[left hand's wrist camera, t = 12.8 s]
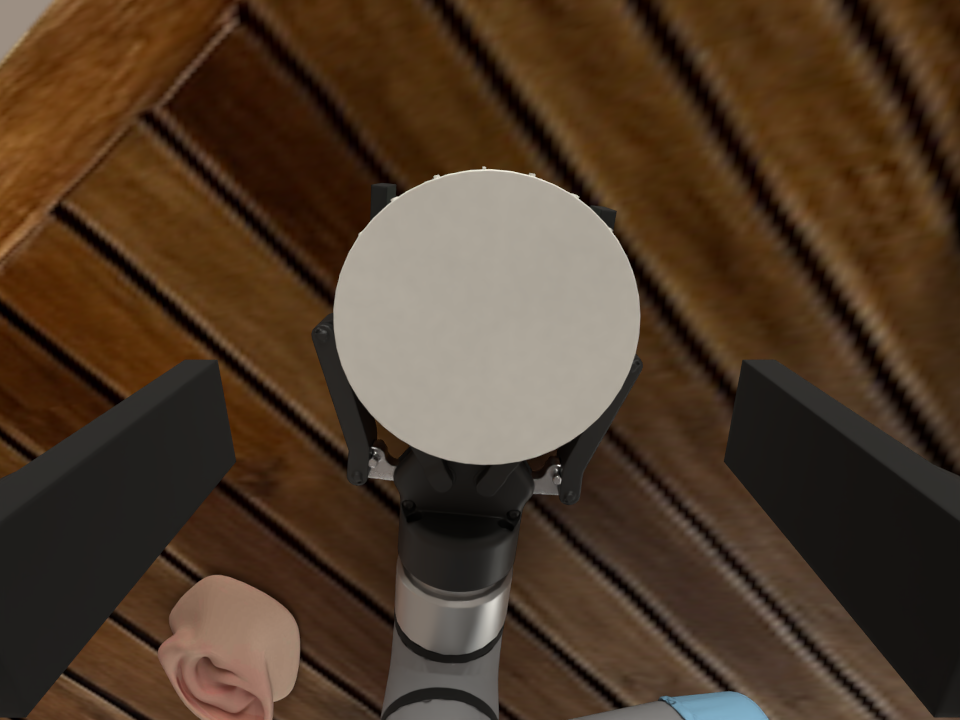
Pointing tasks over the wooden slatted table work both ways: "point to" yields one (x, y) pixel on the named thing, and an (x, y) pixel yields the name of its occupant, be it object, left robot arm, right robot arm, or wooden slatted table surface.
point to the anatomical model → (230, 650)
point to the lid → (486, 317)
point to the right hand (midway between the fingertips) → (494, 196)
